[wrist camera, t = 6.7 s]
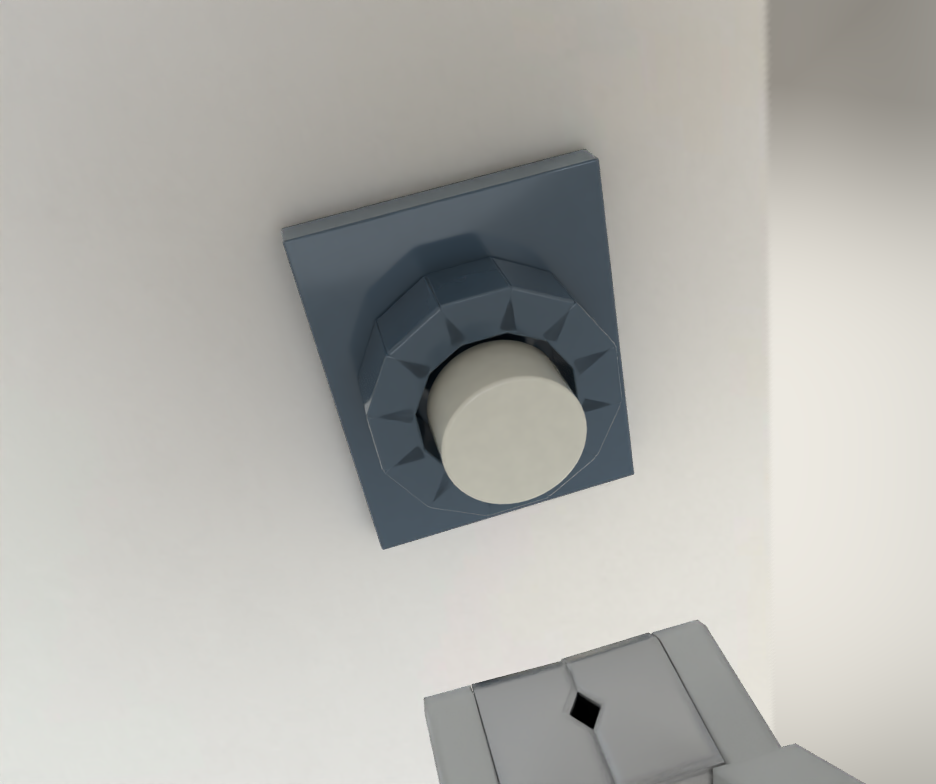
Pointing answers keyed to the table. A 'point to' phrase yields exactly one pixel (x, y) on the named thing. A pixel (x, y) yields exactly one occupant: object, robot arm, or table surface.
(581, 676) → the robot arm
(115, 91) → the table surface
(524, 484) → the cream button cap
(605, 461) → the mounted push button
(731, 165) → the table surface
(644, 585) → the table surface
